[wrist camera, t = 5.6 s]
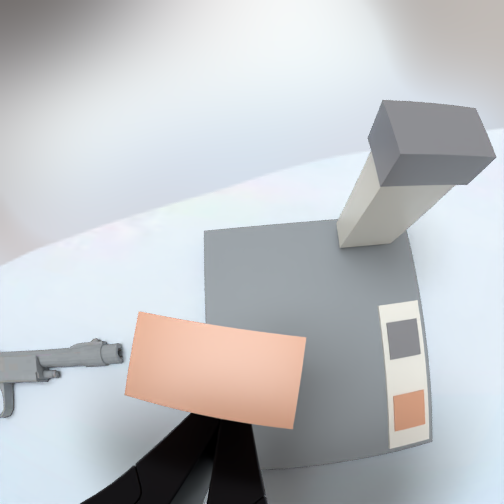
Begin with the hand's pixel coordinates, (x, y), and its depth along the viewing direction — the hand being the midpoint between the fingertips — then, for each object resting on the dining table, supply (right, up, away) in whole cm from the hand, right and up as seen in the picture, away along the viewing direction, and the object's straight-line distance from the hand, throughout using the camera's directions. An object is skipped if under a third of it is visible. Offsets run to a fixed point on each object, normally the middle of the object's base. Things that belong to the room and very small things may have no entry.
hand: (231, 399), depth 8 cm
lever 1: (+1, -2, +7) cm, 7 cm away
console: (+4, -1, +9) cm, 10 cm away
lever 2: (+7, +5, +9) cm, 12 cm away
